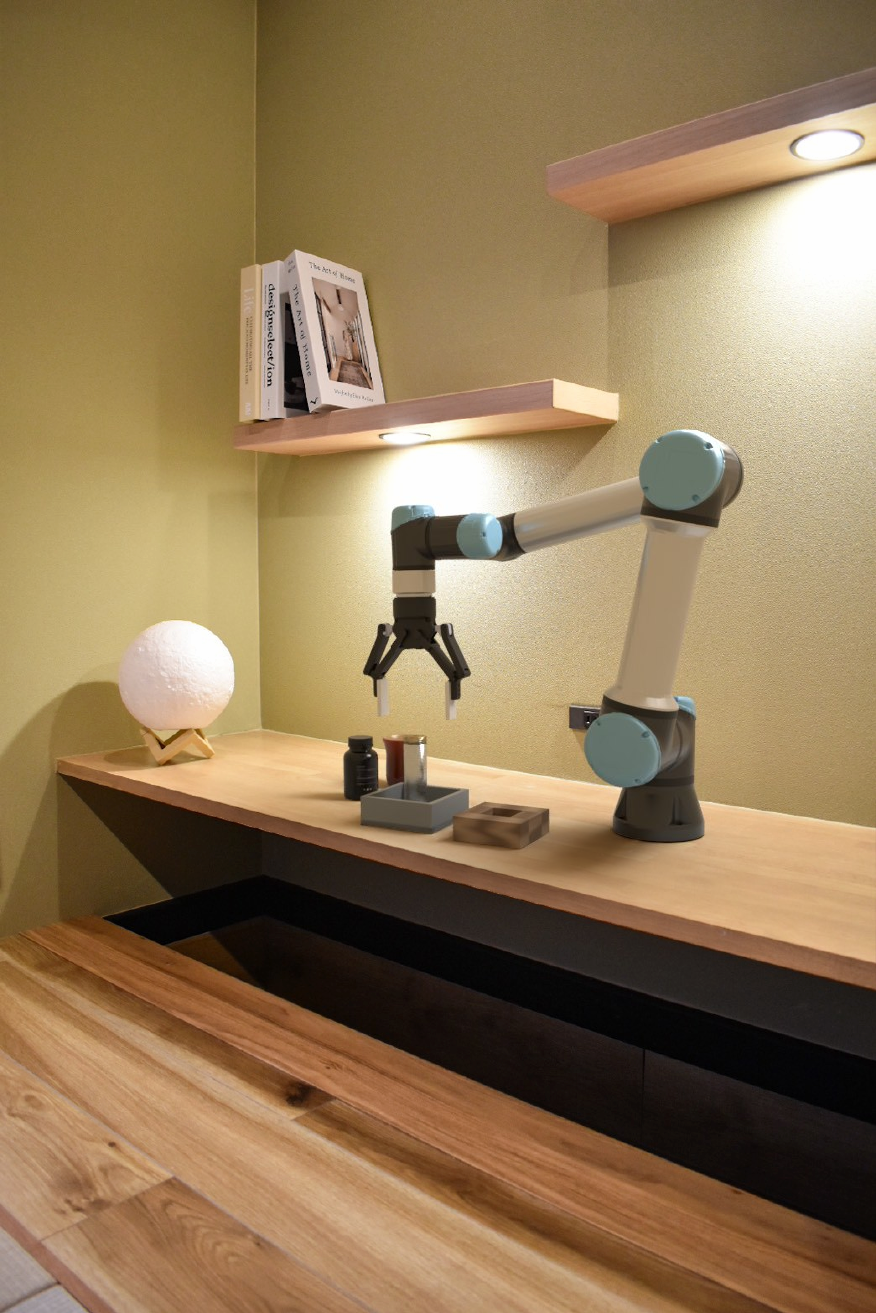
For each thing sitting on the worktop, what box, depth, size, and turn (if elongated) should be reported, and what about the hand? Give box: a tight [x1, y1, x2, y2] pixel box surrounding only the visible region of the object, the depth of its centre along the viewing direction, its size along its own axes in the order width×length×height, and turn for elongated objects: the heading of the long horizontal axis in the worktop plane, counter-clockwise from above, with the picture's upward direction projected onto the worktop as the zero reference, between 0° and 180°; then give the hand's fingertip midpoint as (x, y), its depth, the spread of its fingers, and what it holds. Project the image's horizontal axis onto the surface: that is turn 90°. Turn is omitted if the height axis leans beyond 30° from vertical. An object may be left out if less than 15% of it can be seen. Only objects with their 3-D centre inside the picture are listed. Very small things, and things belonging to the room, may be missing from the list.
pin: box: [404, 734, 428, 802], centre depth 178 cm, size 4×4×14 cm
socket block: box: [452, 801, 550, 850], centre depth 168 cm, size 12×12×4 cm
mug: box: [381, 733, 415, 787], centre depth 210 cm, size 12×9×10 cm
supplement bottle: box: [342, 734, 380, 802], centre depth 198 cm, size 7×7×12 cm
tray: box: [360, 782, 470, 835], centre depth 179 cm, size 14×14×5 cm
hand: (416, 717), depth 177 cm, fingers open, 13 cm apart
